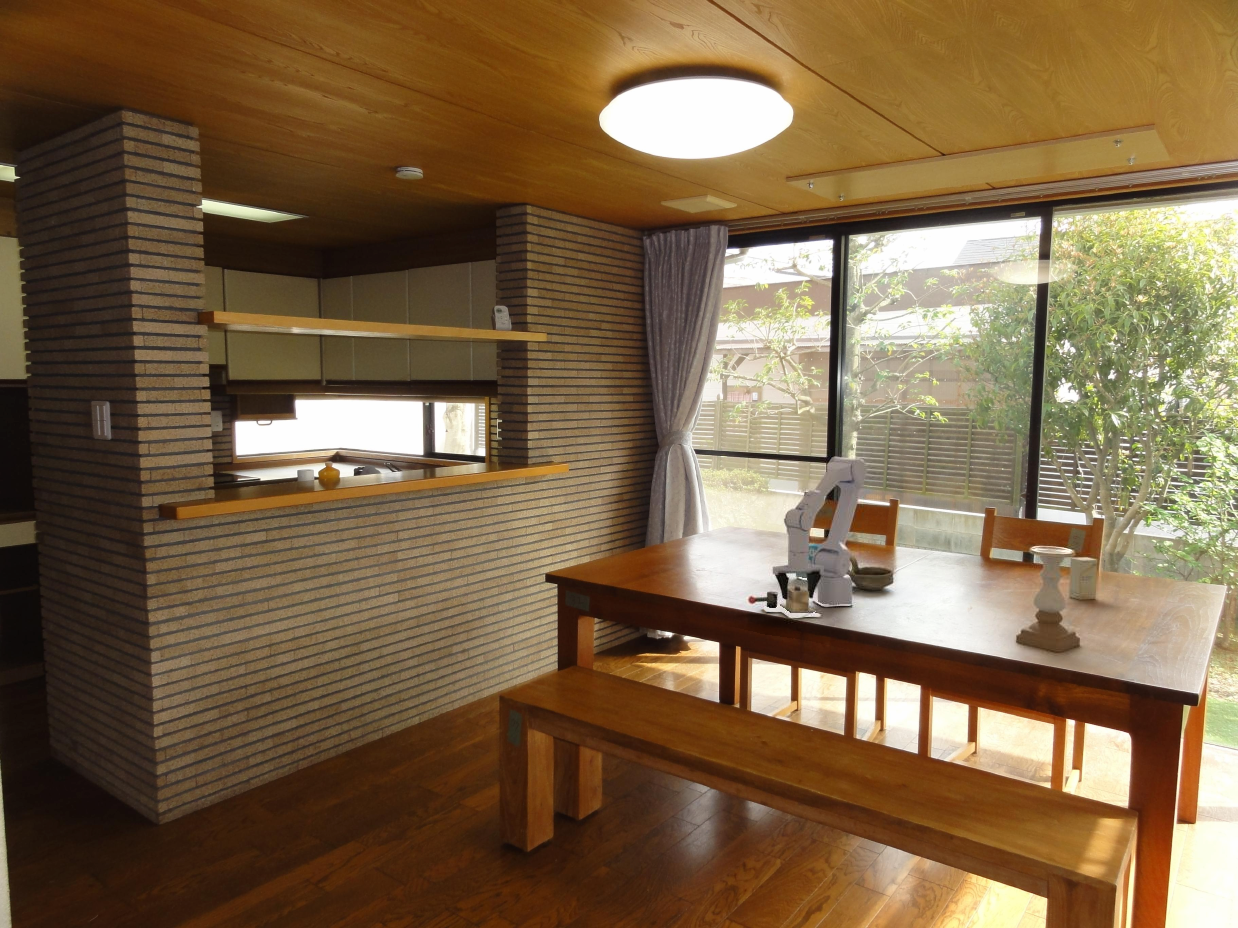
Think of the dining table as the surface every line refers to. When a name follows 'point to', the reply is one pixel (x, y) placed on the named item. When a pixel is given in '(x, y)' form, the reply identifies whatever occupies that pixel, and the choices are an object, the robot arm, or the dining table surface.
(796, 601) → the block
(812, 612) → the grey square slab
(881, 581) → the bowl
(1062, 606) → the candle holder
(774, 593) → the lever
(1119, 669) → the dining table surface
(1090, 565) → the skincare box
